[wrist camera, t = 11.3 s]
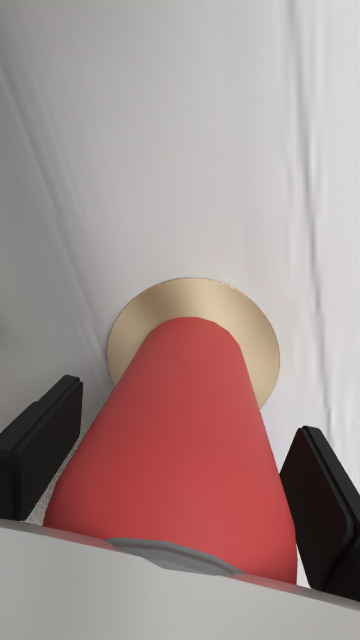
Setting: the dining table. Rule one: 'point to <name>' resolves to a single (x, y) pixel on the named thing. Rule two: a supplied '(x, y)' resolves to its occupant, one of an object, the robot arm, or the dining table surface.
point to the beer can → (182, 463)
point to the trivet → (204, 303)
